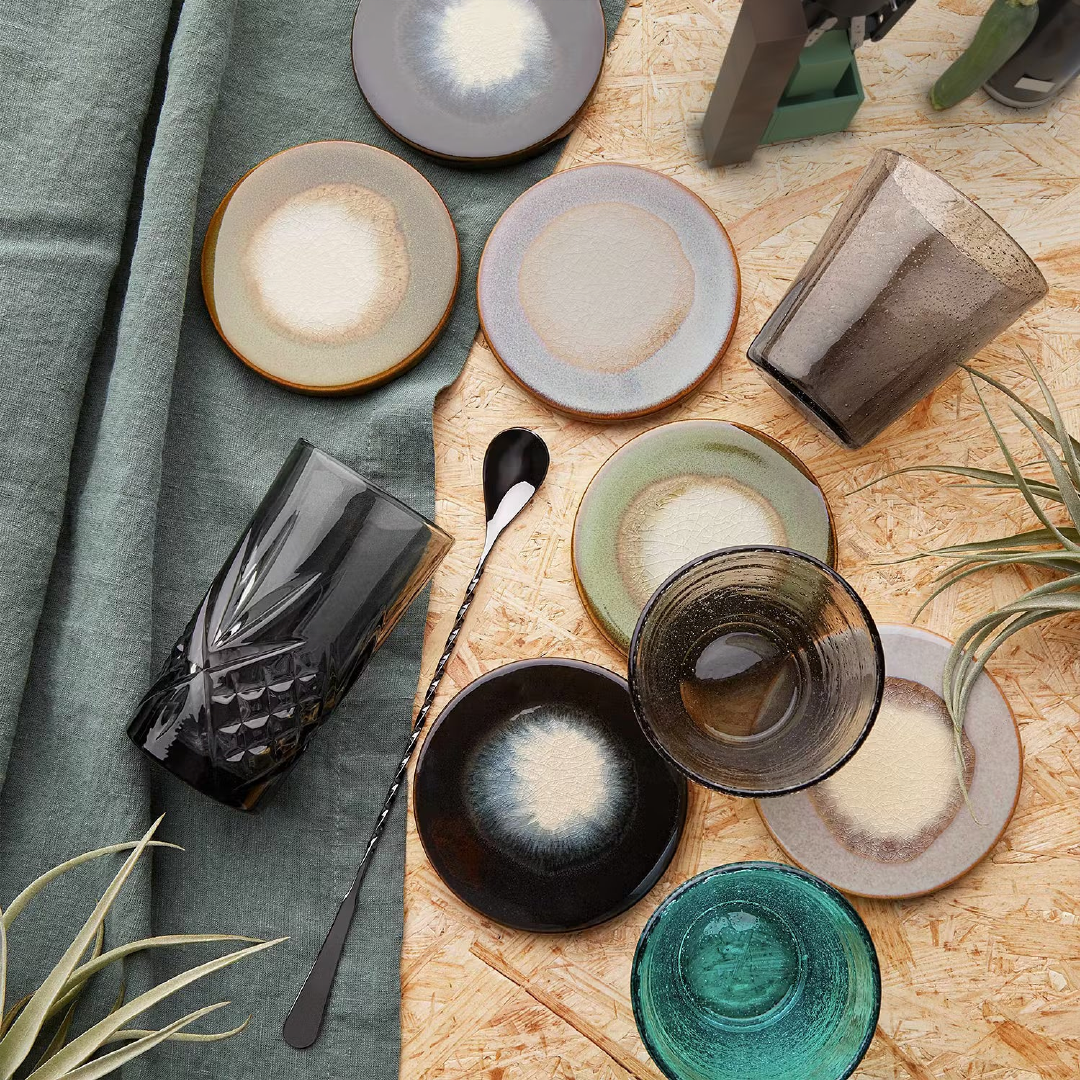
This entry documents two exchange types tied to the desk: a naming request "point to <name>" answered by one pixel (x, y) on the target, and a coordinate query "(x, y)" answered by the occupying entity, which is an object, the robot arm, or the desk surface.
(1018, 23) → the vegetable
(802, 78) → the sage block
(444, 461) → the desk surface
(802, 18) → the stand
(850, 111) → the sage bin
